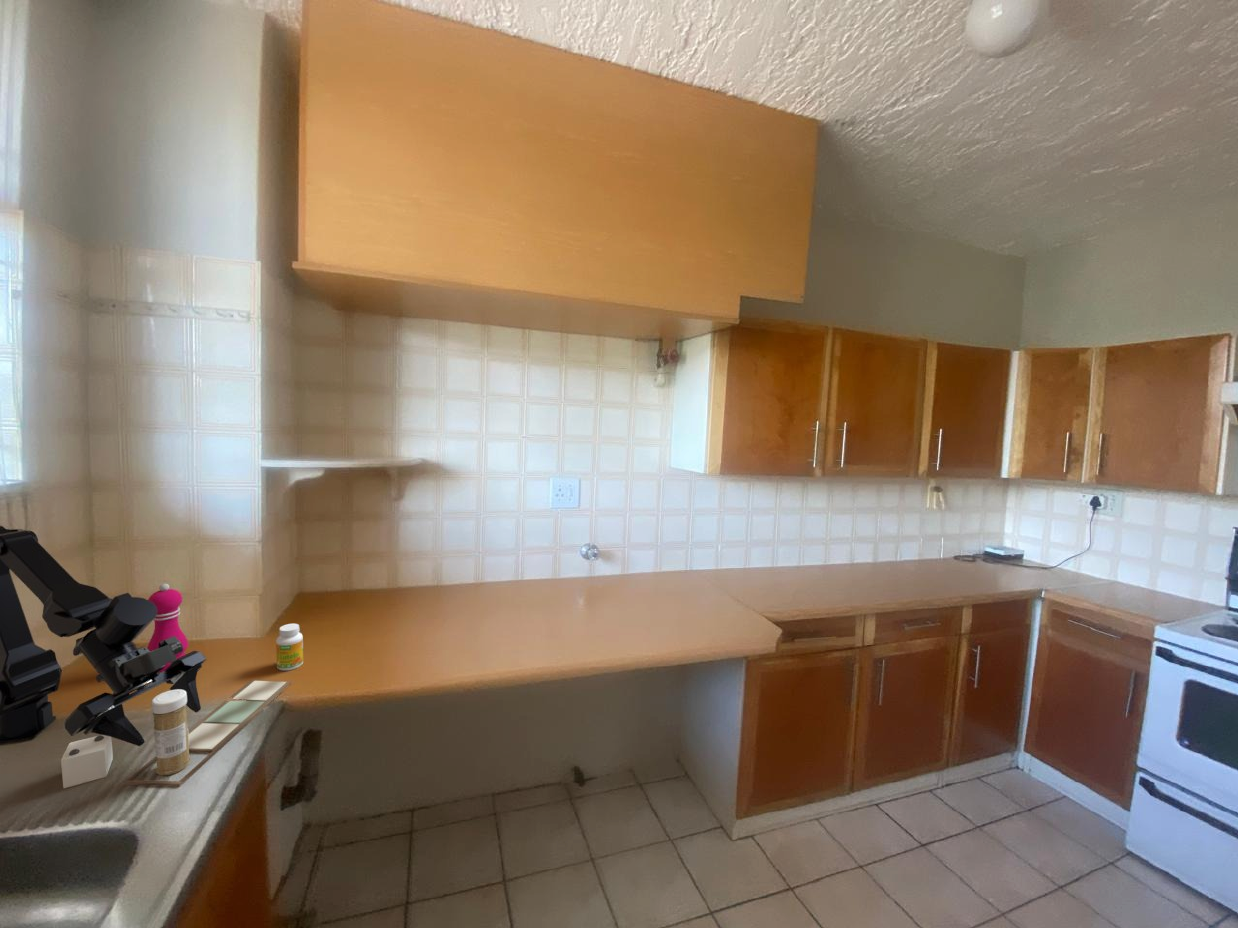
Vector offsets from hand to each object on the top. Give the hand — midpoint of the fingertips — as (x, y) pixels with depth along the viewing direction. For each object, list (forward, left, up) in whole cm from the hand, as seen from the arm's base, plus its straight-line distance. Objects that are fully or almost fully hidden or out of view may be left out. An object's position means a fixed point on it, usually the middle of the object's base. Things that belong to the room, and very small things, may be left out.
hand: (172, 726), depth 87 cm
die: (-13, +2, -8) cm, 15 cm away
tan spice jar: (0, 0, -8) cm, 8 cm away
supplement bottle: (+10, +32, -8) cm, 35 cm away
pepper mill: (-16, +39, -8) cm, 43 cm away
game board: (+3, +11, -8) cm, 14 cm away
